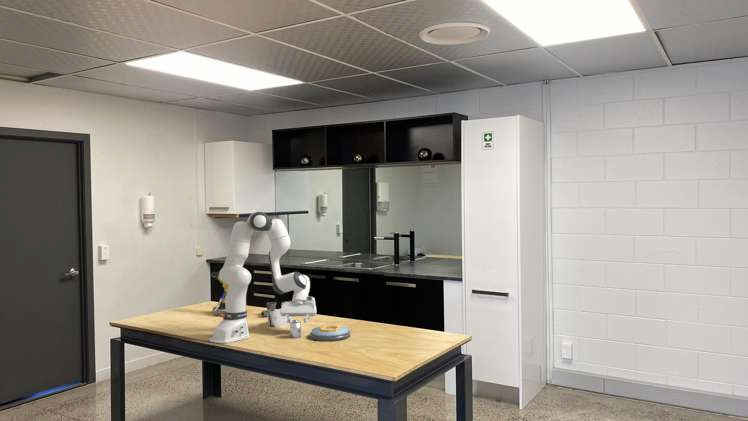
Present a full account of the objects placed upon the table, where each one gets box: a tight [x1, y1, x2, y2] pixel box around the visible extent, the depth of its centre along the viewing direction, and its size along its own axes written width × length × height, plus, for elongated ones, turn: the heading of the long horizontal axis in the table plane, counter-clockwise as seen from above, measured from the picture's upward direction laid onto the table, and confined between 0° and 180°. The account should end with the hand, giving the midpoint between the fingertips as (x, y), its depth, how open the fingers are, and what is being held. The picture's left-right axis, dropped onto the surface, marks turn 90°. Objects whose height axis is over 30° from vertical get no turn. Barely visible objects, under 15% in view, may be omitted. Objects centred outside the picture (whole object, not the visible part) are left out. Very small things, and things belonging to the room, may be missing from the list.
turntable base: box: [309, 329, 351, 343], centre depth 300 cm, size 22×22×2 cm
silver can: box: [289, 319, 302, 339], centre depth 300 cm, size 6×6×9 cm
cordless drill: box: [210, 270, 229, 317], centre depth 368 cm, size 18×19×28 cm
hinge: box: [266, 308, 294, 328], centre depth 333 cm, size 17×5×10 cm, turn 145°
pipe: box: [260, 301, 277, 318], centre depth 357 cm, size 6×13×8 cm, turn 152°
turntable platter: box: [311, 325, 349, 337], centre depth 300 cm, size 20×20×3 cm
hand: (296, 322), depth 303 cm, fingers open, 8 cm apart
